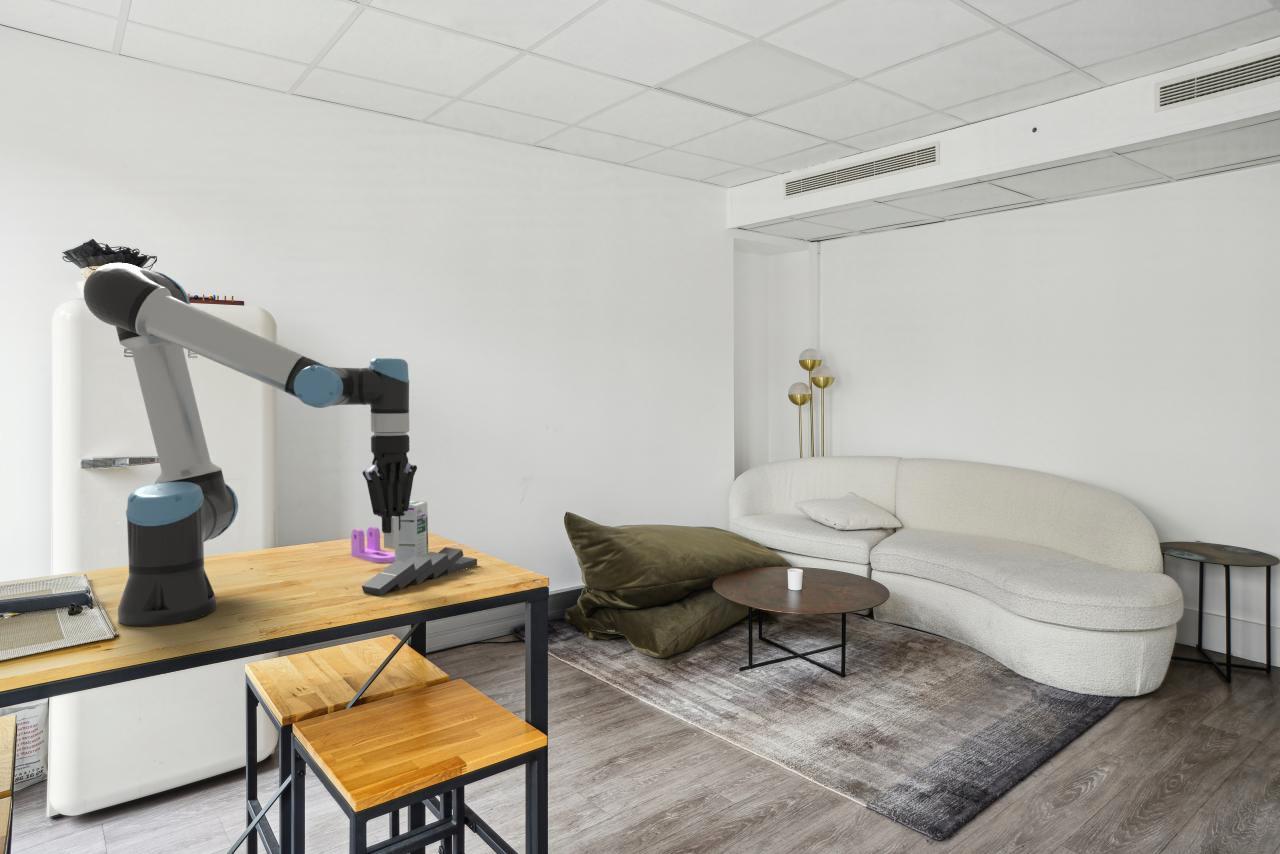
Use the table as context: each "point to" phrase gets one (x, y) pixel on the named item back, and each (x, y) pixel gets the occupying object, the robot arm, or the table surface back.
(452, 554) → the domino
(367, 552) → the bracket
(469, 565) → the domino
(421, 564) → the domino
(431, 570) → the domino
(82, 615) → the table surface
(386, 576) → the domino
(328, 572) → the table surface
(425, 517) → the syrup box
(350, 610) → the table surface
